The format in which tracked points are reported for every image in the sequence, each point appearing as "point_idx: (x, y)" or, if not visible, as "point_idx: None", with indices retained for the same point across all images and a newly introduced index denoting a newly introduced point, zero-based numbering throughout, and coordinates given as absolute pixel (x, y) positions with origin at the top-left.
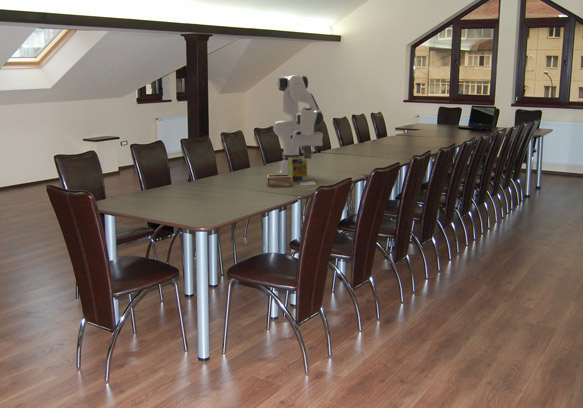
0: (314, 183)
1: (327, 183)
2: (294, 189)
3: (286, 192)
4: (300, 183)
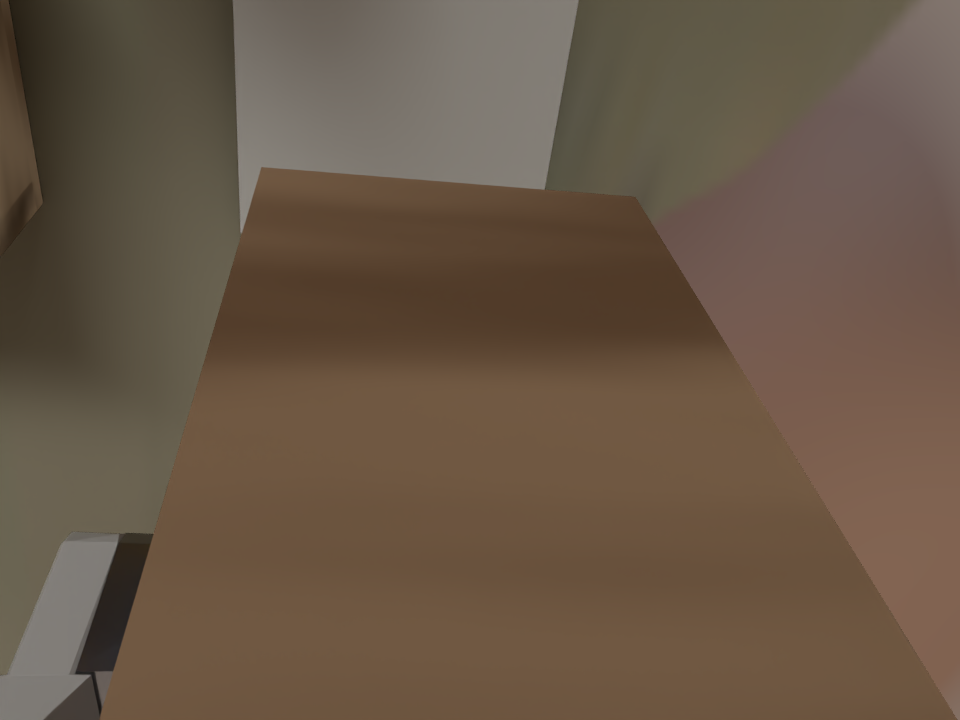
0: (538, 133)
1: (829, 38)
2: (122, 469)
3: (12, 625)
4: (244, 63)
